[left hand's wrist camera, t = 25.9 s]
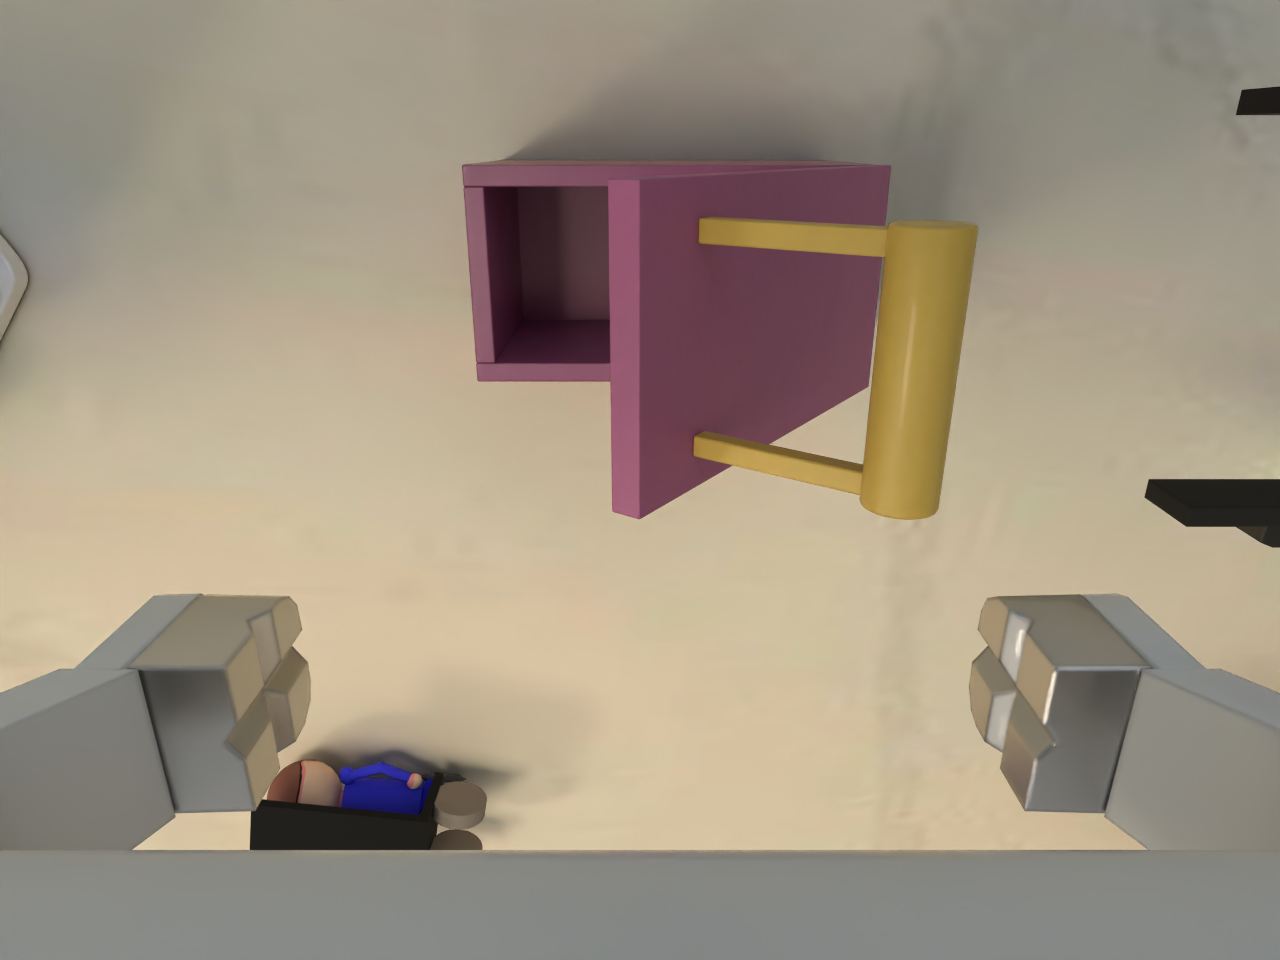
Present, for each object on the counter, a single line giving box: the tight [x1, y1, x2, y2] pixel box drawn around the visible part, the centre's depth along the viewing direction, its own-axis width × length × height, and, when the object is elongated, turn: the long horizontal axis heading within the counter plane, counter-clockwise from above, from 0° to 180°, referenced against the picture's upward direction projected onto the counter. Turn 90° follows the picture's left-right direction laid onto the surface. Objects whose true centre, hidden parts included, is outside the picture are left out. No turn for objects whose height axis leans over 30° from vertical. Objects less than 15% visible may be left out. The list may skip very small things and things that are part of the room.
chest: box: [462, 160, 870, 381], centre depth 43 cm, size 18×10×11 cm, turn 90°
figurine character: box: [250, 760, 487, 850], centre depth 59 cm, size 7×8×15 cm
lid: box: [608, 165, 978, 520], centre depth 28 cm, size 18×10×9 cm
